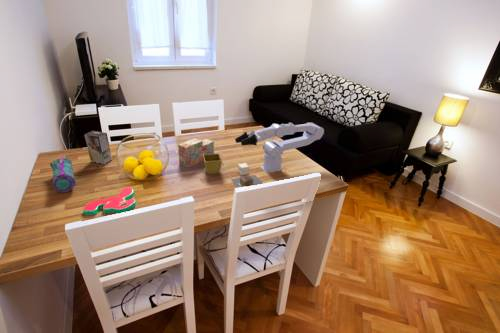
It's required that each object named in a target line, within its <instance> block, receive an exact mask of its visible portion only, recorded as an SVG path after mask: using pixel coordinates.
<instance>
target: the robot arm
mask: <svg viewBox="0 0 500 333" xmlns="http://www.w3.org/2000/svg"><path fill="white" fill-rule="evenodd" d="M298 132H300V133H301V132H303V134H302V136H299V137H294V138H290V139H285V140H282V141H276V140H272V141H271V140H269V139H272V138H275V137H277V138H283V137H284V136H287V135H288V136H289V135H294V134H295V133H298ZM324 134H325V129H324V127H321V126H319V125H317V124H315V123H314V122H306V123H303V124H294V123H293V122H288V123H281V124H278V123H272V124H271V125H270V126H269V127H265V128H262V129H258V130H255V129H251V132H249V133H248V132H247V131H244V132H243V133H242V134H241V135H239V136H238V137H235V139H234V140H235V143H236V144H237V143H239V144H241V146H257V145H258V144H257V143H259V142H262V141H265V142H264V143H263V145H262V149H263V151H264V154H263V155H264V156H263V165H260V168H261V169H262V170H263V171H264V173H265V174H270V173H276V172H281V171H282V169H281V168H282V162H283V160H282V155H283V154H284V152H285V151H290V150H293V149H296V148H297V149H298V148H301V147H305V146H308V145H310V144H312V143H313V142H315V141H319V140H321V138H322V137H323V135H324Z"/></svg>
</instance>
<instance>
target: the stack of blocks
mask: <svg viewBox="0 0 500 333" xmlns="http://www.w3.org/2000/svg"><path fill="white" fill-rule="evenodd" d="M214 144H215V142H214V141H213V140H211V139H208V138H205V139H198V138H195V137H194V138H192V139H189V140H187V141H184V142H181V143H179V144H177V148H178V149H177V150H178V151H177V153H178V159H179V160H178V164H179V165H181V166H182V167H183V166H184V167H185V168H189V167H191V166H194V165H196V164H198V163H200V162H204V159H203V155H204V154H215V146H214Z"/></svg>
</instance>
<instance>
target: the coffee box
mask: <svg viewBox="0 0 500 333" xmlns="http://www.w3.org/2000/svg"><path fill="white" fill-rule="evenodd" d="M84 139H85V142H86V148H87V151H88V155H89V156H88V157H89V159H90V163H94V162H96V164H99V163H101V164H100V165H107V164H108V163H110V162H111V161H112V160H113V158H112V152H111V147H110V143H109V138H108V132H105V131H104V132H103V131H96V130H91V131H89V132H87V133H84ZM111 159H112V160H111ZM110 160H111V161H110ZM109 161H110V162H109ZM107 162H108V163H107ZM106 163H107V164H106Z"/></svg>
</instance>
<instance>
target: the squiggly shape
mask: <svg viewBox="0 0 500 333" xmlns="http://www.w3.org/2000/svg"><path fill="white" fill-rule="evenodd" d="M134 195H135V194H134V189H133V188H132V187H130V186H128V187H124V188H122V190H120V192H119V194H118V195H112V196H109V197H108V198H100V199H99V198H98V199H95V200H92V201H91V202H89V203H87V204H86V205H84V206H83V208H82V210H83V214H85V215H87V216H93V215H96V214H99V210H101V209H102V212H103V213H105V214H110V213H114V214H121V213H120V212H124V211H127V212H129V211H130V210H132V209H133V208H135V207H136V205H137V201H136V199H134V198H133V197H134ZM124 213H125V212H124Z"/></svg>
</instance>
